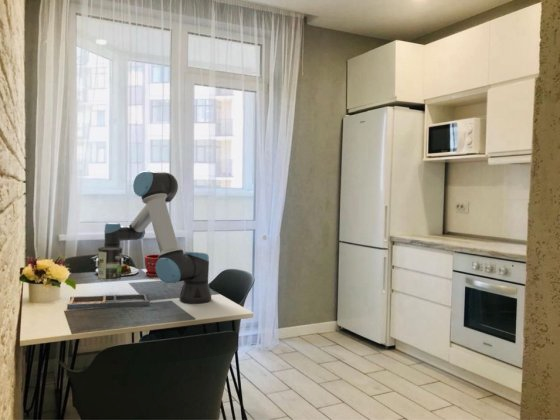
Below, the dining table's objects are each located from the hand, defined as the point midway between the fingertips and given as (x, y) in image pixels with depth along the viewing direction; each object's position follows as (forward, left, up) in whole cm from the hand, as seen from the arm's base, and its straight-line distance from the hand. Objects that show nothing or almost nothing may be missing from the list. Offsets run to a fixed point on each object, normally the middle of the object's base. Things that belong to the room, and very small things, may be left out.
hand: (109, 263), depth 212 cm
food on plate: (+56, -58, -19) cm, 83 cm away
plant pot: (+34, -67, -19) cm, 77 cm away
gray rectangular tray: (+2, -2, -19) cm, 19 cm away
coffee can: (+3, -3, -8) cm, 9 cm away
